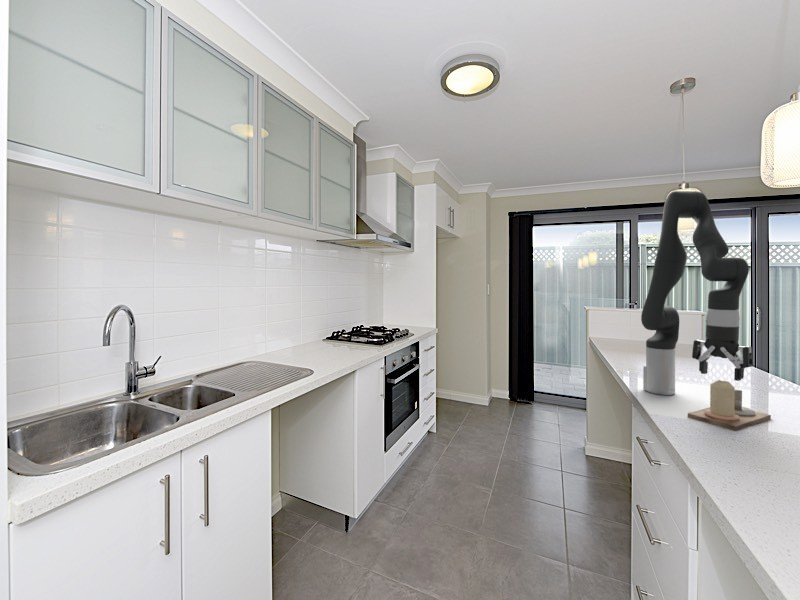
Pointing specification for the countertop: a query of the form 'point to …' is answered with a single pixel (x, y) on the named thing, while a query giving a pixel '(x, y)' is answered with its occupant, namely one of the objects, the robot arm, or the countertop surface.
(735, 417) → the pad
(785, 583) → the countertop surface
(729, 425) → the board
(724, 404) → the candle
